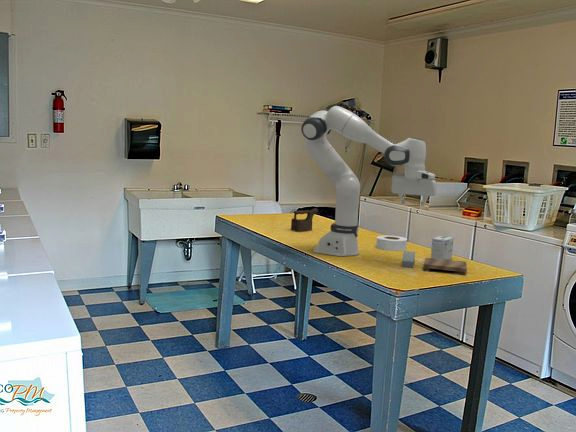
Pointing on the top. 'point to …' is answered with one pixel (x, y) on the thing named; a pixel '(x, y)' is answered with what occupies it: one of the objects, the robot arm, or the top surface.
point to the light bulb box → (442, 247)
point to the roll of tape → (391, 243)
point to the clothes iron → (303, 221)
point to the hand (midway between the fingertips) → (412, 204)
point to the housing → (408, 259)
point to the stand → (445, 265)
